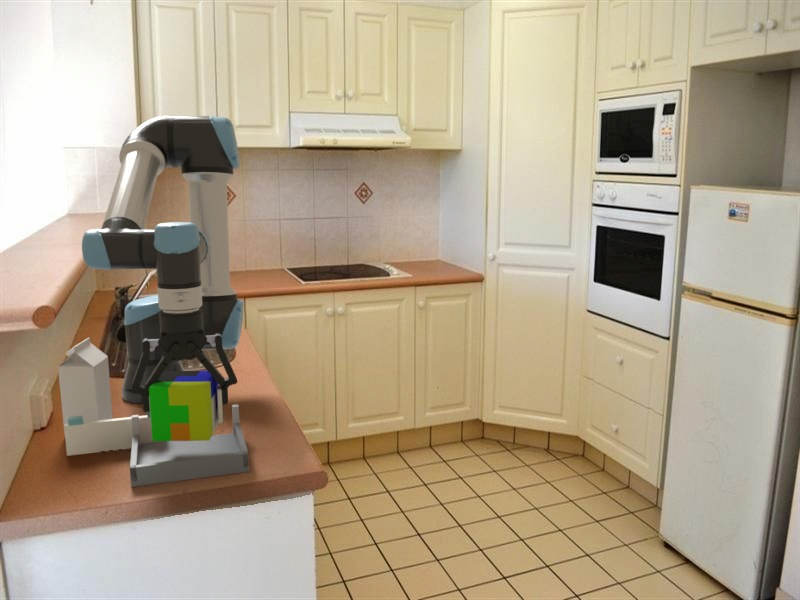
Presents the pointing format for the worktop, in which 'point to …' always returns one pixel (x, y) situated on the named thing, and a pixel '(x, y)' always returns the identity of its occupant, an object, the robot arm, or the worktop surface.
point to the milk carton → (85, 384)
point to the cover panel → (104, 434)
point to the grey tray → (187, 456)
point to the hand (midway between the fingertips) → (187, 424)
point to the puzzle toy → (183, 406)
